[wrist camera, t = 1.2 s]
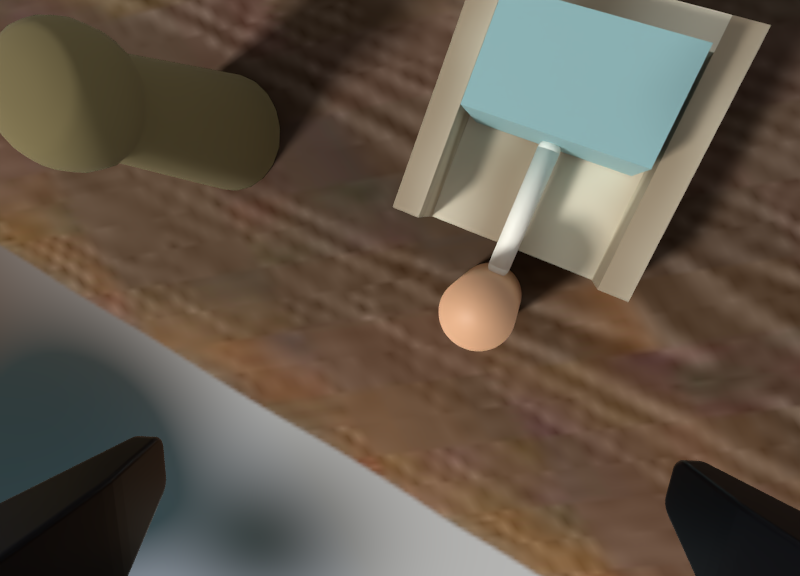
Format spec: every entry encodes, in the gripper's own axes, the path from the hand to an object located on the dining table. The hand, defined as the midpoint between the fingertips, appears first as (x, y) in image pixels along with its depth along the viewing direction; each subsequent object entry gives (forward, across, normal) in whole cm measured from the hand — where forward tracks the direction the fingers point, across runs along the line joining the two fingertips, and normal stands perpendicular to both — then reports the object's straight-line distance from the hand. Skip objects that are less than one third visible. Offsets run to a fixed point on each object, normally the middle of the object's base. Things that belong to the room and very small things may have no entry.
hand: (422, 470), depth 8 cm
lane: (+15, -6, -6) cm, 17 cm away
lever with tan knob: (+15, -6, -3) cm, 16 cm away
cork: (+20, +9, -5) cm, 23 cm away
